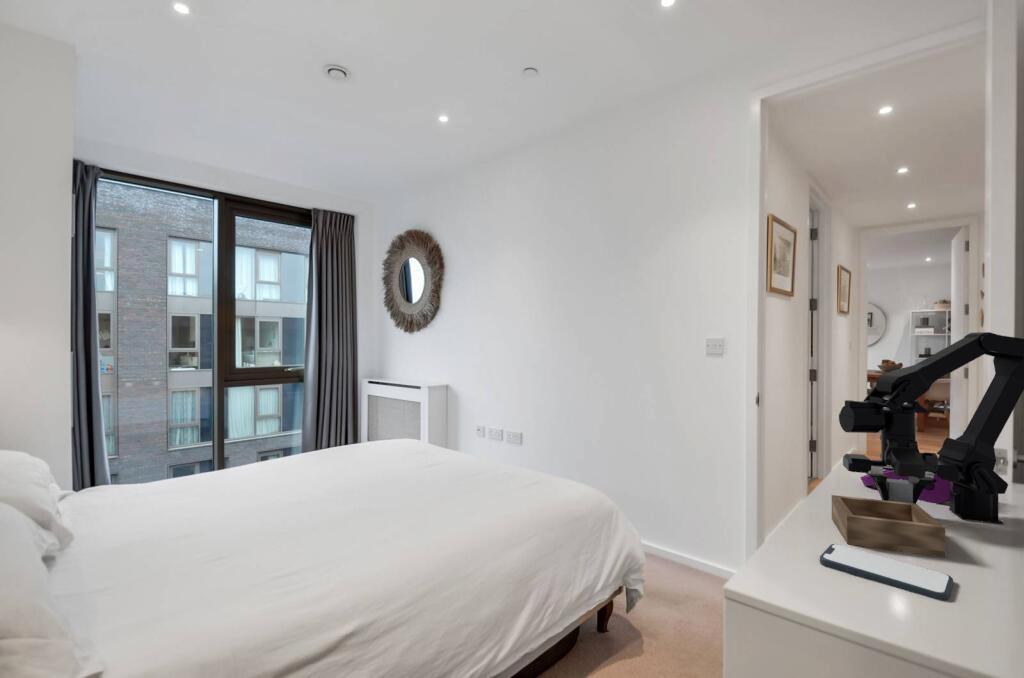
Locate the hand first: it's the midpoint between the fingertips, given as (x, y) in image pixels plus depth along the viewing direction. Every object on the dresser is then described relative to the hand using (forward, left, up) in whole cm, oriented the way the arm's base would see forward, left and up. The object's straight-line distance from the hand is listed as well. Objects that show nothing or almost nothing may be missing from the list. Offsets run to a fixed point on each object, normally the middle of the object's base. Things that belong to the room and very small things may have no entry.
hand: (898, 507), depth 102 cm
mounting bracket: (-7, -19, -2) cm, 20 cm away
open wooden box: (+7, +15, -2) cm, 16 cm away
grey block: (0, -2, -1) cm, 2 cm away
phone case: (+11, +32, -2) cm, 34 cm away
